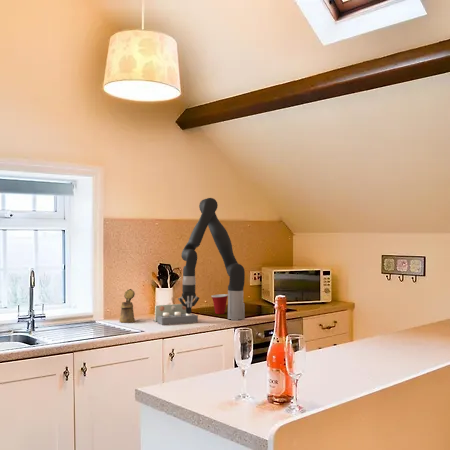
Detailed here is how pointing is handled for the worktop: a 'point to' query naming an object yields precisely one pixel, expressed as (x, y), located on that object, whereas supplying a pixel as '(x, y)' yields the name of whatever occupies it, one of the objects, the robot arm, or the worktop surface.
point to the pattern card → (169, 310)
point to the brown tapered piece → (127, 308)
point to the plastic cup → (219, 303)
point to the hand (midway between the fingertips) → (188, 313)
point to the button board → (177, 319)
